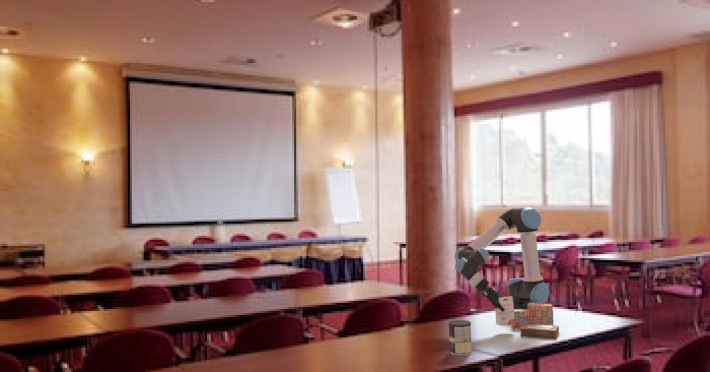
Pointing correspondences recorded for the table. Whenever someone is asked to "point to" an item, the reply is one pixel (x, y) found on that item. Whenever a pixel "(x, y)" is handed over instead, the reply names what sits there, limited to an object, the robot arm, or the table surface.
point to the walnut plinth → (540, 331)
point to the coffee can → (460, 337)
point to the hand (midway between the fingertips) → (510, 313)
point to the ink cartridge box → (500, 317)
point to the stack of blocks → (534, 315)
